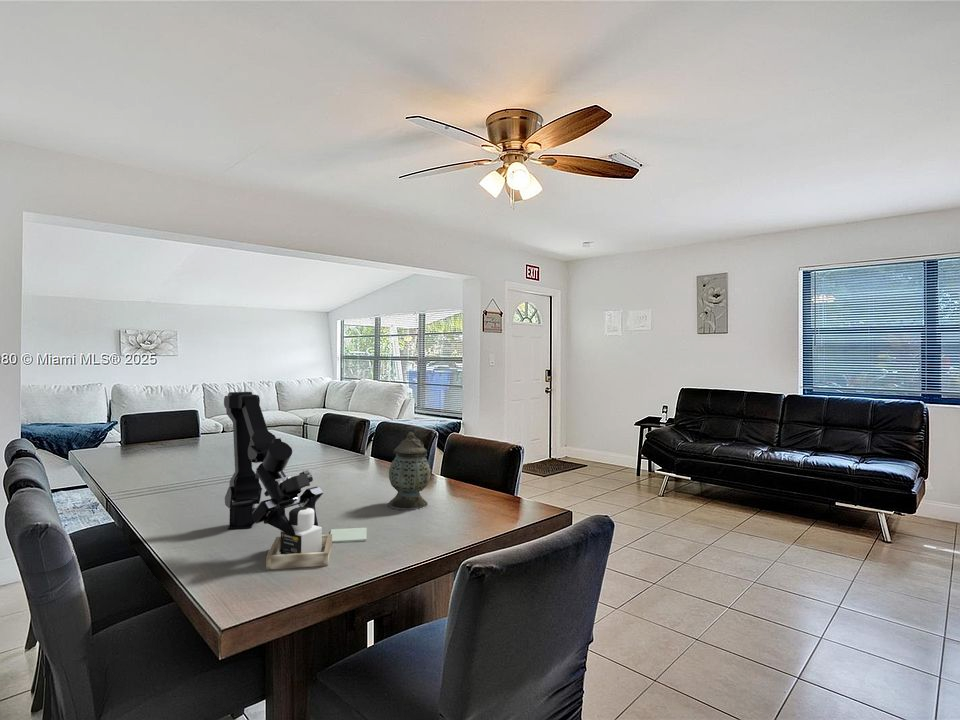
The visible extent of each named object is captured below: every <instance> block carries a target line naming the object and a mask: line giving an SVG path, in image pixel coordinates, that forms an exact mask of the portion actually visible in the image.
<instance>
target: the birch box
mask: <svg viewBox="0 0 960 720" xmlns="http://www.w3.org/2000/svg"><path fill="white" fill-rule="evenodd" d="M332 546H333V543H332V534H330V533H327V534H323V533H322V548H324V550H323V551H321V552H313V553H294V554H279V553H280V548H281V536H276V537H275V539H274V541H273V543H272V545H271V547H270V548H269V551H268V552H267V555H266V557H265V559H266V561H265V569H266V570H276V569H277V570H279V569H291V568H292V569H293V568H294V569H295V568H307V567H308V568H309V567H313V568H314V567H325V566H327V567H328V565H329V562H330V557H331V552H332Z"/></svg>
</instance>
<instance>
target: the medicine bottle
mask: <svg viewBox="0 0 960 720" xmlns="http://www.w3.org/2000/svg"><path fill="white" fill-rule="evenodd" d="M288 520H289V522H290V524H291V526H292V527H293V529H294V532H295V535H294V536H293V537H292V536H290V535H288V534H286V533H285V532H283V531H281V530H280V537H281V548H280V550H279V553H280V554H294V553H313V552H323V551H322V548H323V547H322V535H323V527H321V526H319V525H318V526H315V525H314V510H313V509H312V508H310V507H299V506H298V507H295V508H293V509H291V510H290V511H289V512H288Z"/></svg>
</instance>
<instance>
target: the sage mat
mask: <svg viewBox="0 0 960 720" xmlns="http://www.w3.org/2000/svg"><path fill="white" fill-rule="evenodd" d="M367 529H368V527H352V528H351V527H350V528H331V529H330V533H329V534H332V544H333V543H351V542H352V543H353V542H367V536H368V534H367V533H368V530H367Z"/></svg>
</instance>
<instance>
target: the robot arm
mask: <svg viewBox="0 0 960 720" xmlns="http://www.w3.org/2000/svg"><path fill="white" fill-rule="evenodd" d="M260 399H261V398H260V395H258V394H253V392H252V391H229V392H228V393H227V395H225V396H224V397H223V406H224V408H225V412H226V415H227V416H228V417H229V419H230V421H232V431H233V432H232V433H233V452H234V455H233V457H234V473H233V474H232V477H231V478H230V480H229V487H228V489H227V490H226V493H225V496H224V506H226V508H228V509H229V522H228V523H229V525H228V526H227V529H229V530H231V529H235V530H236V529H251V528H253V526H254V525H257V524H260V523H263V524H264V525H266V524H268V525H270V526H272V527H274V528H276V529H278V530H279V531H280V532H281V531H283V532H285V533H286V534H288V535H290V536H292V537H293V536H294V535H295V532H294V529H293V527H292V526H291V524H290V522H289V517H287V515H286V509H287V508H290V507H294V506H297V505H298V507H310V508H312V509H313V510H314V525H315V526H319V523H318V518H317V511H316V503H317V501H319V499H320V498H321V497H322V496H323V495H324V491H323V490H322V488H321V487H320V486H313V487H310V486H311V483H313V481H314V478H313V475H312V473H311V472H310V470H308V469H307V470H303V471H301V472H300V473H299V474H297V475H295V476H291V475H289V476H287V475H286V473H285V472H284V470H285V469H286V467H287V464H288V463H289V460H290V458H291V456H292V454H293V449H292V448H293V447H291V446H290V445H289V444H288V443H286V442H284V441H282V438H280V437H279V438H277V437H276V435H275V434H273V433H271V432H270V431H269V429H268V426H267V422H266V420H265V417H264V414H263V411H262V408H261V405H260V403H261V402H260V401H261V400H260ZM253 463H254V464H258V463H260V464H259V465H258V467H256V468H255V470H256V471H254V470H253ZM260 482H261V483H262V485H263V487H264V489H265V491H264V493H263V494H264V496H265V497H270V498H269V499H266V500H262V501H261V498H262V491H263V488H262V486H261V483H260ZM305 487H309V488H306V489H305V490H304V491H303V490H302V489H303V488H305ZM302 491H303V492H302ZM301 492H302V494H301V495H299V494H300V493H301ZM255 505H257V506H256V507H255Z"/></svg>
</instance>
